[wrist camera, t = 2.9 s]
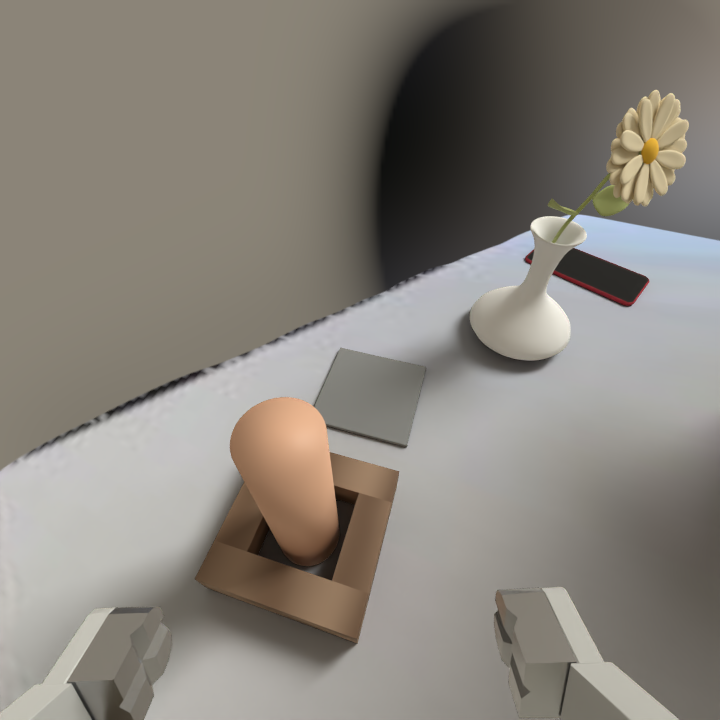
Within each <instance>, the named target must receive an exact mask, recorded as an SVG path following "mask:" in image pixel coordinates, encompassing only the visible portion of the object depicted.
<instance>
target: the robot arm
mask: <svg viewBox="0 0 720 720" xmlns="http://www.w3.org/2000/svg"><path fill="white" fill-rule="evenodd" d="M495 601H496V604H497V607H498V611H497V612H496V613H495V614H494V628H495V637H496V641H497V645H498V649H499V653H500V656H501V660H502V661H503V662H504V663H505V664H506V665H507V666H508V667H509V680H508V683H509V686H510V690H511V693H512V696H513V699H514V703H515V706H516V709H517V712H518V716H519V718H560V720H679V719H678V718H677V717H676V716H674V715H673V714H672V713H671V712H670V711H669V710H667V709H666V708H665V707H664V706H663V705H662V704H660V703H659V702H658V701H657V700H656V699H654V698H653V697H652V696H651V695H650V694H649V693H647V692H646V691H645V690H644V689H643V688H642V687H640V686H639V685H638V684H637V683H636V682H634V681H633V680H632V679H631V678H630V677H629V676H627V675H626V674H625V673H624V672H623V671H622V670H620V669H619V668H618V667H617V666H616V665H614V664H613V663H612V662H604V660H603V658H602V657H601V655H600V653H599V651H598V649H597V647H596V645H595V643H594V641H593V639H592V638H591V636H590V634H589V632H588V630H587V628H586V626H585V624H584V622H583V621H582V619H581V617H580V615H579V613H578V611H577V609H576V607H575V605H574V604H573V602H572V600H571V598H570V596H569V594H568V592H567V591H566V590H565V589H564V588H563V587H550V588H539V587H537V588H522V589H506V590H498V591H497V592H496V599H495ZM163 617H164V614H163V612H162V610H161V608H160V607H122V608H118V607H116V608H96V609H95V610H93V611H92V612H91V613H90V614H89V615H88V616H87V617H86V619H85V620H84V622H83V623H82V625H81V626H80V628H79V629H78V631H77V632H76V634H75V635H74V637H73V638H72V640H71V641H70V643H69V644H68V646H67V647H66V648H65V650H64V651H63V653H62V654H61V656H60V657H59V659H58V660H57V662H56V663H55V665H54V666H53V668H52V669H51V671H50V672H49V674H48V675H47V677H46V678H45V680H44V681H43V683H42V684H38V685H34V686H33V687H32V688H30V689H29V690H28V691H27V692H25V693H24V694H23V695H22V696H21V697H19V698H18V699H17V700H16V701H14V702H13V703H12V704H11V705H9V706H8V707H7V708H6V709H4V710H3V711H2V712H1V713H0V720H144V718H145V716H146V714H147V711H148V709H149V706H150V704H151V702H152V699H153V697H154V692H153V686H152V685H153V684H154V683H155V682H156V681H157V680H158V679H159V678H160V677H161V676H162V675H163V673H164V671H165V669H166V666H167V664H168V661H169V657H170V652H171V647H172V638H171V633H170V630H169V628H168V627H166V626H165V625H164V624H162V623H161V621H162V619H163Z"/></svg>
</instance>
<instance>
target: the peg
mask: <svg viewBox="0 0 720 720" xmlns="http://www.w3.org/2000/svg"><path fill="white" fill-rule="evenodd" d="M230 452H231V456H232V459H233V461H234V463H235V465H236V467H237V469H238V471H239V473H240V474H241V476H242V478H243V480H244V482H245V484H246V485H247V487H248V489H249V491H250V493H251V495H252V496H253V498H254V500H255V502H256V504H257V506H258V507H259V509H260V511H261V513H262V515H263V517H264V518H265V520H266V522H267V524H268V526H269V528H270V529H271V531H272V533H273V535H274V537H275V539H276V540H277V542H278V544H279V546H280V548H281V550H282V551H283V553H284V555H285V556H286V557H287V558H288V559H289V560H290V561H291V562H293V563H295V564H297V565H301V566H313V565H317V564H319V563H321V562H323V561H324V560H326V559H327V558H328V557H329V556H330V555H331V554H332V553H333V551H334V550H335V548H336V546H337V544H338V540H339V535H340V529H339V522H338V514H337V506H336V498H335V491H334V483H333V475H332V467H331V460H330V452H329V444H328V436H327V429H326V424H325V421H324V419H323V417H322V416H321V414H320V413H319V412H318V410H317V409H316V408H314V407H313V406H312V405H310V404H309V403H307V402H305V401H303V400H300V399H296V398H289V397H280V398H273V399H269V400H266V401H263V402H261V403H259V404H257V405H255V406H254V407H252V408H251V409H250V410H248V411H247V412H246V413H245V414H244V415H243V416H242V417H241V418H240V419H239V421H238V422H237V424H236V425H235V427H234V429H233V432H232V435H231V440H230Z"/></svg>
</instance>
